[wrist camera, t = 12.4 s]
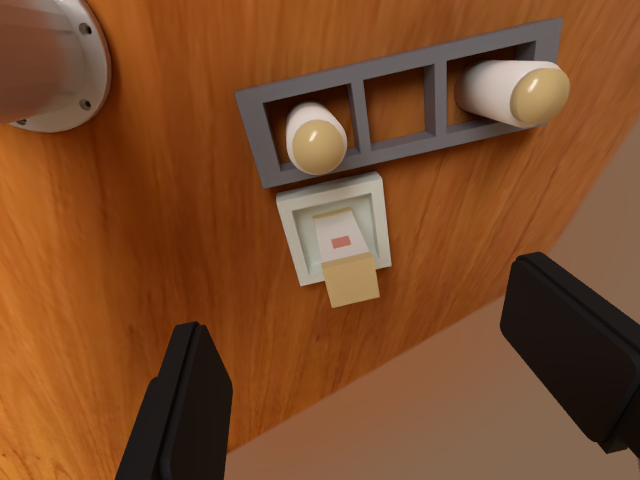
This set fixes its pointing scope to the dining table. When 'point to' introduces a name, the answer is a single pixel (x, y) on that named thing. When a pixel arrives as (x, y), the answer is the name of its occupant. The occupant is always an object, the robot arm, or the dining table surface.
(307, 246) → the tray
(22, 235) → the dining table surface
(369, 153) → the holder
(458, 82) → the post
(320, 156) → the post
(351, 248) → the block
